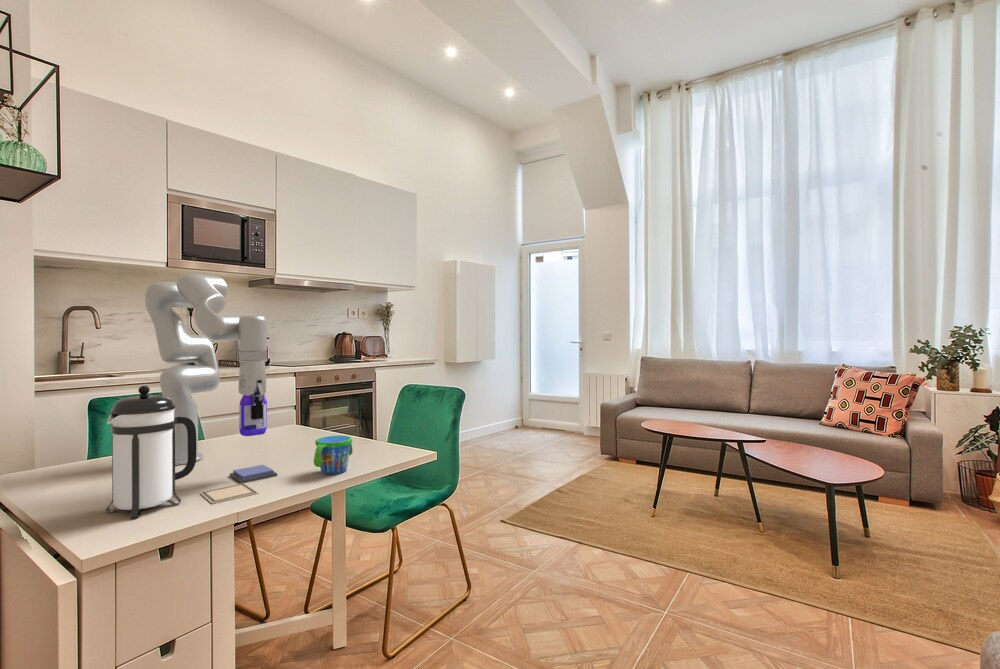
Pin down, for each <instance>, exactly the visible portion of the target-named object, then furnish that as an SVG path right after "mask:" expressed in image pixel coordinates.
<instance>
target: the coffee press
mask: <svg viewBox="0 0 1000 669" xmlns="http://www.w3.org/2000/svg"><path fill="white" fill-rule="evenodd" d="M137 391H138V393H139V395H135V396H128V397H124V398H120V399H119V400H117V401H116V402H115V403H114V404H113V406H112V408H111V409H110V413H109V416H108V418H107V421H106V424H107V425H111V428H110V429H111V430H110V431H111V452H112V453H111V464H112V465H111V470H112V472H111V473H112V474H111V475H112V476H111V477H112V478H111V480H112V481H111V482H112V483H111V484H112V485H111V486H112V490H111V491H112V492H111V494H112V495H111V496H112V498H111V502H110V504H108V506H107V507H106V509H105V511H106V512H107V513H108V514H110V513H111V514H112V513H113V512H114V511H116V509H119V510H123V511H124V510H126V511H130V514H129V515H130V519H131V520H133V519H139V517H140V514H141V511H142V510H144V509H148V508H153V507H157V506H159V505H162V504H164V503H170V504H171V505H173V506H175V505H176V506H179V505H180V504H181V501H182V499H181V497H179V496H178V495H177V492H176V481H177V480H180V479H183V478H185V477H187V476H188V475H189V474H190V473H192V472H193V470H194V468H195V466H196V462H197V461H196V428H195V425H194V423H193V421H192V420H191V419H189V418H186V417H176V418H174V410H175V408H176V404H174V403H173V401H172V399H171V398H169V397H167V396H162V394H160V395H159V394H149V392H150V391H151V389H150V387H149V386H148V385H142V386H140V387H139V388H138V389H137ZM181 423H182V424H184V425H185V426H186V428H187V433H188V461H187V464H185V466H184V468H183V469H182V470H180V471H178V472H176V465H175V424H181ZM173 497H174V498H175V500H177V501H178V503H177V502H175V501H174V500H172V498H173ZM112 504H113V506H114V507H115V508H114V509H113V510H112V509H110V507H111V505H112ZM176 506H175V507H176Z"/></svg>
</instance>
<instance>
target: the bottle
mask: <svg viewBox="0 0 1000 669" xmlns="http://www.w3.org/2000/svg"><path fill="white" fill-rule="evenodd" d="M257 394H258V393H254V395H257ZM255 400H256V397H255ZM263 402H264V404H263V418H262V419H254V420H253V419H251V406H253V405H252V397H251V396H245V395H242V397H241V399H240V401H239V413H238V414H239V416H238V417H239V418H238V419H239V420H238V421H239V422H238V423H239V424H238V428H239V434H240V435H241V436H242V437H253V436H261V435H264V434H266V433H267V432H266V431H267V427H268V415H267V414H268V400H267V398H266V395H265V396H264V400H263Z"/></svg>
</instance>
